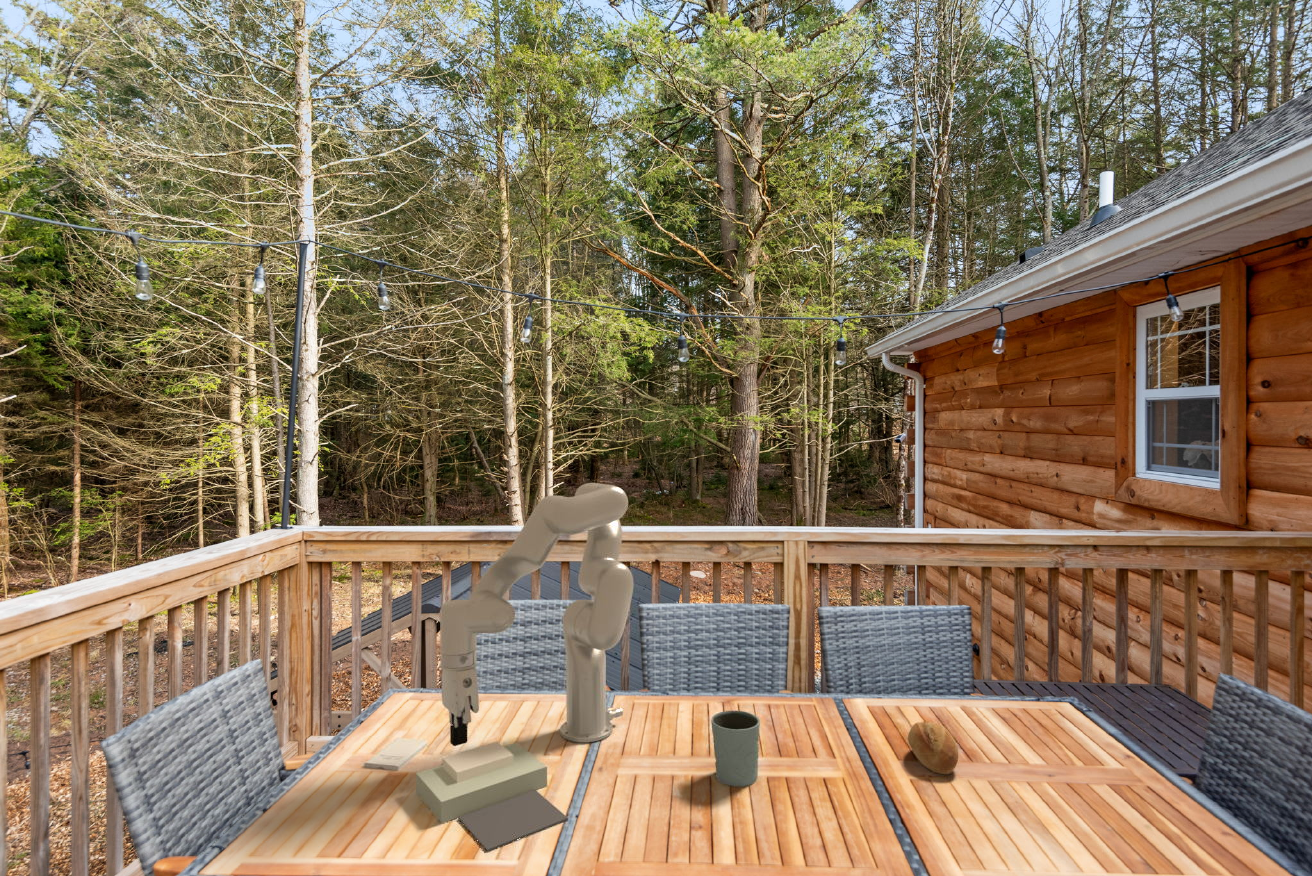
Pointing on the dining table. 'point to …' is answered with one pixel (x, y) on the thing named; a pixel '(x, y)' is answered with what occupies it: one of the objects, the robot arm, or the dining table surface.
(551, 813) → the mat
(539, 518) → the robot arm
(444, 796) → the sage green block
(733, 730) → the grey green cup
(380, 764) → the external hard drive
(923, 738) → the bread roll
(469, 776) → the cream flat block
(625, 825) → the dining table surface
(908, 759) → the dining table surface
